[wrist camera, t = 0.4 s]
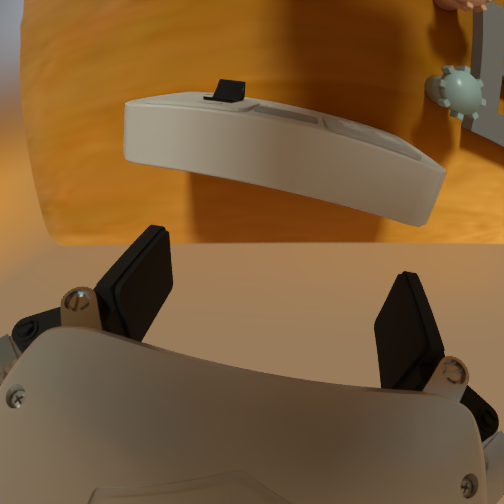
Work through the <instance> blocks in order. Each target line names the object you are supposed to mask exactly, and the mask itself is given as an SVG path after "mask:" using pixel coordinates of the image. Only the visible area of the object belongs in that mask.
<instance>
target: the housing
mask: <svg viewBox="0 0 504 504" xmlns="http://www.w3.org/2000/svg"><path fill="white" fill-rule="evenodd" d="M484 5H485V6H486V8H487V10H484V11H481V12H478V13H476V12H475V10H474V9H473V44H472V58H471V69H470V74H471V75H472V76H473V77H474V78H475V79H481V81H482V83H483V85H484V86H482V87H480V89H481V93H482V98H483V99H485V100H486V106H482V105H480V107H479V109H478V110H477V111H476V112H477V114H478V116H479V117H478V118H477V119H475V120H474V119H471V118H468V117H466V115H464V116H463V121H462V126H461V127H463V128H465V129H467V130H470V131H472V132H474V133H476V134H478V135H481V136H483V137H485V138H487V139H489V140H491V141H493V142H495V143H497V144H499V145H501V146H503V147H504V116H502V115H500V114H498V113H497V111H498V105H499V99H500V91H501V83H502V81H504V66H503V60H504V8H503V7H501V6H500V5H498V4H497V3H495V2H493V1H492V0H491V2H489V3H485V4H484ZM474 8H475V7H474Z"/></svg>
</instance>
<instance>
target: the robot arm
mask: <svg viewBox="0 0 504 504" xmlns="http://www.w3.org/2000/svg"><path fill="white" fill-rule="evenodd" d="M172 286H173V276H172V265H171V253H170V238H169V232H168V231H166V229H165V227H163V226H157V225H150V226H149V227H148V228H147V229H146V230H145V231H144V232H143V233H142V234H141V235H140V236H139V237H138V238H137V240H136V241H135V242H134V243H133V244H132V245H131V246H130V247H129V248H128V249H127V250H126V251H125V252H124V254H123V255H122V256H121V257H120V258H119V259H118V260H117V261H116V263H115V264H114V265H113V266H112V267H111V268H110V269H109V271H108V272H107V273H106V274H105V275H104V276H103V278H101V280H100V281H99V282H98V283H97V286H96V287H95V288H94V289H93V290H92V289H91V288H88V287H77V288H74V289H71V290H70V291H68V292H67V293H66V294H65V295H64V296H63V298H62V300H61V307H58V308H55V309H51V310H48V311H45V312H42V313H39V314H35V315H32V316H29V317H26V318H23V319H21V320H20V321H19V322H18V323H17V324H16V325H15V326H14V328H13V330H12V335H11V336H9V335H8V334H6V335H5V336H3V337H1V338H0V504H496V503H497V502H498V501H499V500H500V498H502V496H503V495H504V434H503V432H502V431H499V432H498V431H497V429H498V426H499V420H498V415H497V413H496V411H495V410H494V409H493V408H492V407H491V406H490V405H489V404H488V403H487V402H486V401H485V400H484V399H482V398H481V397H480V396H479V395H478V394H477V393H476V392H475V391H473V390H472V389H471V388H470V387H469V386H468V385H467V384H468V381H469V372H468V370H467V367H466V366H465V364H464V363H463V362H462V361H461V360H459V359H457V358H456V357H452V356H447V357H445V354H444V346H443V343H442V340H441V337H440V334H439V331H438V328H437V325H436V322H435V319H434V316H433V313H432V310H431V308H430V305H429V303H428V300H427V297H426V295H425V292H424V289H423V287H422V284H421V282H420V279H419V277H418V275H417V274H416V273H411V272H407V271H404V272H403V273H402V274H398V276H397V278H396V280H395V282H394V284H393V286H392V288H391V290H390V293H389V295H388V297H387V299H386V301H385V303H384V305H383V307H382V309H381V311H380V313H379V315H378V317H377V318H376V321H375V324H374V331H375V338H376V346H377V353H378V362H379V371H380V381H381V388H372V387H361V386H351V385H341V384H332V383H325V382H317V381H310V380H303V379H297V378H291V377H285V376H279V375H273V374H268V373H262V372H257V371H252V370H248V369H243V368H238V367H233V366H229V365H224V364H220V363H216V362H212V361H208V360H204V359H200V358H196V357H192V356H188V355H184V354H181V353H177V352H173V351H170V350H166V349H163V348H159V347H156V346H152V345H149V344H146V343H143V342H141V341H142V339H143V338H144V336H145V334H146V333H147V331H148V329H149V327H150V326H151V324H152V322H153V320H154V319H155V317H156V315H157V313H158V312H159V310H160V308H161V307H162V305H163V303H164V302H165V300H166V298H167V297H168V295H169V293H170V292H171V290H172Z"/></svg>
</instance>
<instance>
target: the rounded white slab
mask: <svg viewBox="0 0 504 504" xmlns="http://www.w3.org/2000/svg"><path fill="white" fill-rule="evenodd" d="M244 95H245V82H241V81H233V80H224V79H220V80H219V83H218V86H217V89H216V91H215V93H206V92H182V93H174V94H167V95H160V96H154V97H148V98H143V99H137V100H132V101H129V102H126V104H125V119H124V157H125V158H126V160H127V161H129V162H133V163H136V164H142V165H149V166H156V167H162V168H169V169H175V170H181V171H187V172H193V173H198V174H204V175H209V176H215V177H220V178H225V179H230V180H235V181H240V182H245V183H250V184H255V185H259V186H264V187H269V188H273V189H278V190H282V191H286V192H291V193H295V194H299V195H303V196H307V197H311V198H315V199H319V200H323V201H327V202H331V203H335V204H339V205H342V206H346V207H350V208H353V209H357V210H361V211H364V212H368V213H371V214H375V215H378V216H381V217H385V218H388V219H391V220H395V221H398V222H401V223H404V224H408V225H413V226H418V227H420V226H422V225H425V224H426V223H427V221H428V218H429V216H430V214H431V211H432V209H433V207H434V204H435V202H436V199H437V197H438V194H439V191H440V189H441V186H442V183H443V181H444V178H445V175H446V170H445V169H444V168H443V167H442V166H440V165H439V164H438V163H436V162H435V161H434V160H432V159H431V158H430V157H428V156H427V155H425V154H424V153H423V152H421V151H420V150H418V149H417V148H415V147H414V146H412V145H411V144H409V143H408V142H406V141H405V140H403V139H402V138H400V137H398V136H396V135H393V134H391V133H389V132H386V131H383V130H380V129H377V128H374V127H371V126H368V125H365V124H362V123H358V122H355V121H352V120H348V119H345V118H341V117H338V116H334V115H330V114H326V113H322V112H318V111H314V110H310V109H306V108H301V107H297V106H292V105H287V104H282V103H277V102H271V101H266V100H260V99H254V98H247V97H244Z"/></svg>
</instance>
